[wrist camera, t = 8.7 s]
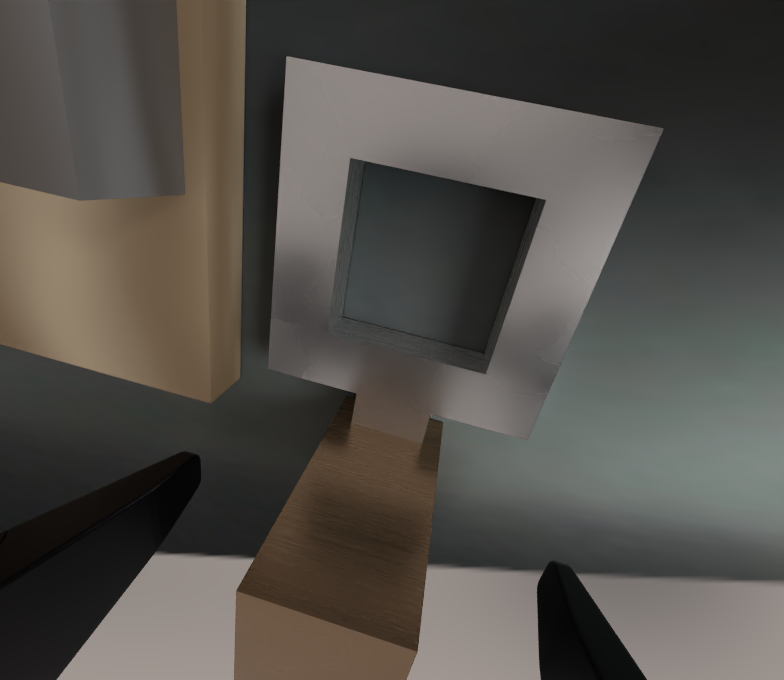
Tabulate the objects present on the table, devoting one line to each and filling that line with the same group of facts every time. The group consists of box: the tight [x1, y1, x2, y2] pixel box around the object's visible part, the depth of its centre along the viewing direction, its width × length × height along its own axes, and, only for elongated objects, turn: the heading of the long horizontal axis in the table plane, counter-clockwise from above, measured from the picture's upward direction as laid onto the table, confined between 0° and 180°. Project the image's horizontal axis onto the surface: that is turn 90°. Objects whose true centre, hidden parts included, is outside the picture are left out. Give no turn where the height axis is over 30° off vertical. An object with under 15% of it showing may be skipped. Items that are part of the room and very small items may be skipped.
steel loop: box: [234, 56, 664, 680], centre depth 8 cm, size 7×11×6 cm, turn 169°
